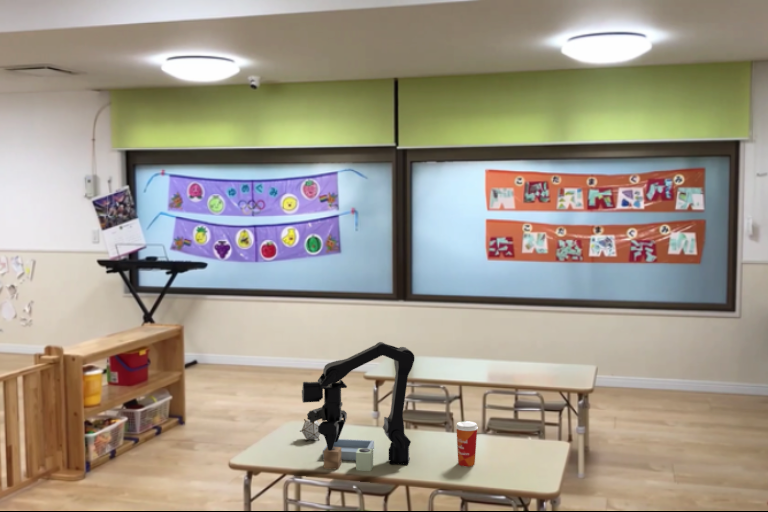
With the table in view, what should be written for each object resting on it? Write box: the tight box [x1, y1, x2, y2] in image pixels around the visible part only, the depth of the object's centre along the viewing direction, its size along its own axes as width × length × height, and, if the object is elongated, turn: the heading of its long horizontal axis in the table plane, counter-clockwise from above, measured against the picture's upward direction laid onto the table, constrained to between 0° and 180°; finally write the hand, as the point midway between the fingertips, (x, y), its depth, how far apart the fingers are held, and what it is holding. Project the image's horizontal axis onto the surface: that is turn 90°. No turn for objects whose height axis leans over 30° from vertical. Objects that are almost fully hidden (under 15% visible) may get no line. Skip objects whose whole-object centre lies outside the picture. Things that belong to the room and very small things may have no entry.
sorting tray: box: [322, 438, 375, 462], centre depth 271 cm, size 16×14×3 cm
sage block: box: [355, 448, 374, 472], centre depth 256 cm, size 5×5×6 cm
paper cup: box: [455, 420, 479, 468], centre depth 260 cm, size 8×8×14 cm
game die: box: [299, 418, 321, 442], centre depth 287 cm, size 9×8×10 cm
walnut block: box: [323, 446, 342, 470], centre depth 258 cm, size 5×5×6 cm
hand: (333, 446), depth 258 cm, fingers open, 9 cm apart
